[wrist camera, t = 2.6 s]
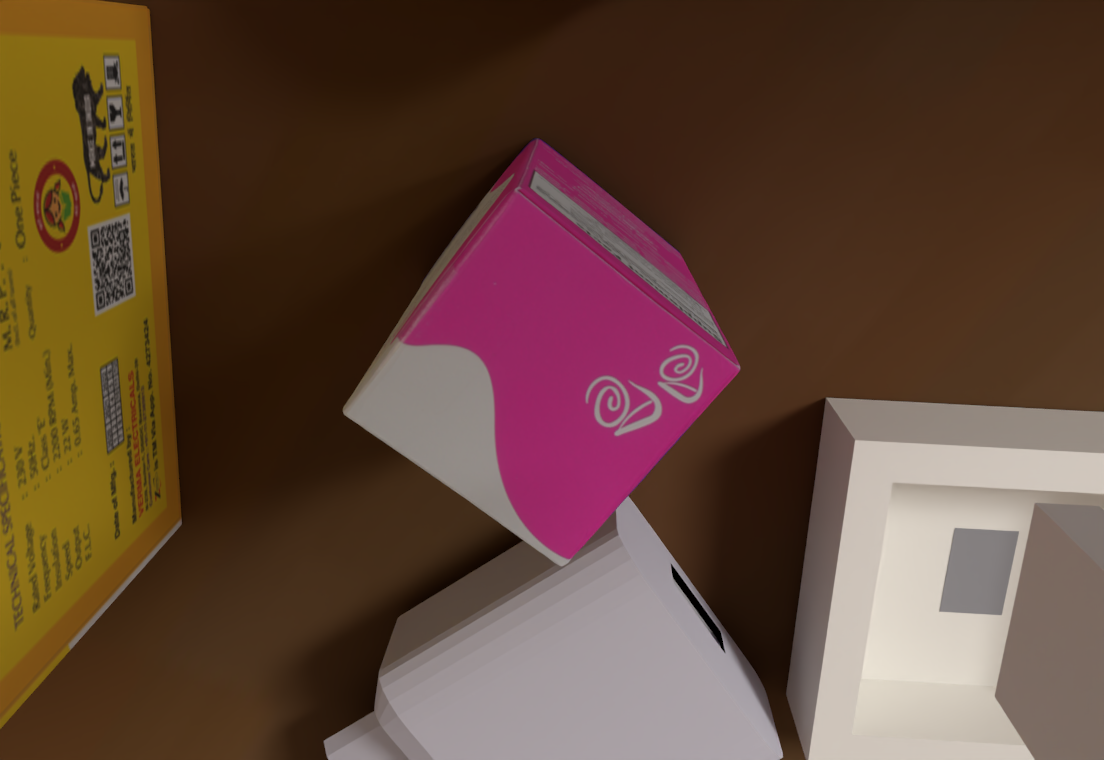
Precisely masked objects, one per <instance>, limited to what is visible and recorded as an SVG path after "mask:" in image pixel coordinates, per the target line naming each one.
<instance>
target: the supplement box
mask: <svg viewBox="0 0 1104 760" xmlns="http://www.w3.org/2000/svg"><path fill="white" fill-rule="evenodd" d="M739 371H740V365H739V363H738V361H737V359H736V357H735V355H734V353H733V351H732V349H731V347H730V345H729V343H728V341H727V340H726V338H725V336H724V334H723V332H722V331H721V329H720V327H719V325H718V323H717V321H716V319H715V317H714V315H713V314H712V312H711V310H710V308H709V306H708V304H707V303H706V301H705V299H704V298H703V296H702V294H701V292H700V290H699V288H698V286H697V284H696V282H695V280H694V278H693V276H692V275H691V273H690V271H689V269H688V267H687V265H686V263H685V262H684V260H683V258H682V256H681V254H680V252H679V251H677V250H676V249H675V248H674V247H673V246H672V245H670V244H669V243H668V242H667V241H665V240H664V239H663V238H662V237H661V236H659V235H658V234H657V233H656V232H655V231H653V230H652V229H651V228H650V227H648V226H647V225H646V224H645V223H644V222H642V221H641V220H640V219H639V218H638V217H636V216H635V215H634V214H633V213H631V212H630V211H629V210H628V209H627V208H625V207H624V206H623V205H622V204H621V203H619V202H618V201H617V200H616V199H615V198H613V197H612V196H611V195H610V194H608V193H607V192H606V191H605V190H604V189H602V188H601V187H600V186H599V185H598V184H596V183H595V182H594V181H593V180H591V179H590V178H589V177H588V176H587V175H585V174H584V173H583V172H582V171H580V170H579V169H578V168H577V167H575V166H574V165H573V164H572V163H571V162H569V161H568V160H567V159H566V158H564V157H563V156H562V155H561V154H559V153H558V152H557V151H556V150H554V149H553V148H552V147H550V146H549V145H548V144H547V143H545V142H544V141H543V140H542V139H539V138H534V139H532V140H531V141H530V142H529V143H528V144H527V145H526V146H525V147H524V148H523V149H522V151H521V152H520V153H519V154H518V155H517V157H516V158H515V159H514V160H513V162H512V163H511V164H510V165H509V167H508V168H507V169H506V170H505V172H504V173H503V174H502V175H501V177H500V178H499V179H498V180H497V182H496V183H495V184H494V185H493V187H492V188H491V189H490V191H489V192H488V193H487V194H486V196H485V197H484V198H483V200H482V201H481V202H480V203H479V205H478V206H477V207H476V209H475V210H474V211H473V212H472V214H471V215H470V216H469V217H468V219H467V220H466V221H465V223H464V224H463V226H462V227H461V228H460V230H459V231H458V232H457V234H456V235H455V236H454V237H453V239H452V240H451V242H450V243H449V245H448V246H447V247H446V249H445V250H444V251H443V253H442V254H441V256H440V257H439V258H438V260H437V261H436V263H435V264H434V265H433V267H432V268H431V270H430V271H429V273H428V274H427V275H426V277H425V278H424V280H423V281H422V285H421V287H420V288H419V290H418V292H417V293H416V295H415V296H414V298H413V299H412V301H411V303H410V304H409V306H408V308H407V309H406V311H405V312H404V314H403V315H402V317H401V319H400V320H399V322H398V323H397V325H396V327H395V328H394V330H393V331H392V333H391V334H390V336H389V337H388V339H387V341H386V342H385V344H384V345H383V347H382V348H381V350H380V351H379V353H378V355H377V356H376V358H375V359H374V361H373V362H372V364H371V366H370V367H369V369H368V370H367V372H366V373H365V375H364V377H363V378H362V380H361V381H360V383H359V384H358V386H357V388H356V389H355V391H354V392H353V394H352V395H351V397H350V398H349V400H348V401H347V403H346V404H345V406H344V407H343V414H344V415H345V416H347V417H348V418H349V419H351V420H352V421H354V422H356V423H357V424H358V425H360V426H361V427H363V428H364V429H365V430H367V431H368V432H370V433H371V434H373V435H374V436H376V437H377V438H379V439H380V440H381V441H383V442H384V443H386V444H387V445H389V446H390V447H392V448H393V449H394V450H396V451H397V452H399V453H400V454H402V455H403V456H405V457H406V458H408V459H409V460H410V461H412V462H413V463H415V464H416V465H418V466H419V467H421V468H422V469H423V470H425V471H426V472H428V473H429V474H431V475H432V476H433V477H435V478H436V479H438V480H439V481H441V482H442V483H443V484H445V485H446V486H448V487H449V488H451V489H452V490H454V491H455V492H457V493H458V494H460V495H461V496H462V497H464V498H465V499H467V500H468V501H470V502H471V503H472V504H474V505H475V506H476V507H478V508H479V509H481V510H482V511H483V512H485V513H486V514H488V515H489V516H490V517H492V518H493V519H495V520H496V521H497V522H499V523H500V524H501V525H503V526H504V527H506V528H507V529H508V530H510V531H511V532H512V533H514V534H515V535H517V536H518V537H519V538H521V539H522V540H524V541H525V542H526V543H528V544H529V545H531V546H532V547H533V548H535V549H536V550H537V551H539V552H540V553H542V554H544V555H545V556H546V557H548V558H549V559H550V560H551V561H553V562H554V563H555V564H557V565H559V566H564V565H566V564H567V563H569V561H570V560H571V559H572V558H573V556H574V555H575V554H576V553H577V552H578V551H579V550H580V549H581V548H582V547H583V546H584V545H585V544H586V542H587V541H588V540H589V539H590V538H591V537H592V536H593V535H594V534H595V532H596V531H597V530H598V529H599V528H600V527H601V526H602V525H603V523H604V522H605V521H606V520H607V519H608V518H609V517H610V516H611V514H612V513H613V512H614V511H615V510H616V509H617V508H618V507H619V506H620V504H621V503H622V502H623V501H624V500H625V499H626V498H627V497H628V496H629V494H630V493H631V492H632V491H633V490H634V489H635V488H636V487H637V486H638V484H639V483H640V482H641V481H642V480H643V479H644V478H645V477H646V475H647V474H648V473H649V472H650V471H651V470H652V468H653V467H654V466H655V465H656V464H657V463H658V462H659V461H660V460H661V458H662V457H663V456H664V455H665V454H666V453H667V452H668V451H669V450H670V448H671V447H672V446H673V445H674V444H675V443H676V442H677V441H678V440H679V439H680V437H681V436H682V435H683V434H684V433H685V432H686V431H687V429H688V428H689V427H690V426H691V425H692V424H693V422H694V421H695V420H696V419H697V418H698V417H699V416H700V415H701V414H702V413H703V411H704V410H705V409H706V408H707V407H708V406H709V404H710V403H711V402H712V401H713V400H714V399H715V398H716V397H717V396H718V394H719V393H720V392H721V391H722V390H723V389H724V388H725V387H726V386H727V385H728V384H729V382H730V381H731V380H732V379H733V378H734V377H735V376H736V375H737V374H738V372H739Z"/></svg>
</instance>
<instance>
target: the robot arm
mask: <svg viewBox="0 0 1104 760" xmlns="http://www.w3.org/2000/svg"><path fill="white" fill-rule="evenodd" d="M995 698H996V700H997V701H998V703H999V704H1000V706H1001V707H1002V709H1003V711H1004V712H1005V714H1006V715H1007V717H1008V718H1009V720H1010V722H1011V723H1012V725H1013V726H1014V728H1015V729H1016V731H1017V732H1018V734H1019V736H1020V737H1021V739H1022V740H1023V742H1024V743H1025V745H1026V747H1027V748H1028V750H1029V751H1030V753H1031V754H1032V756H1033V758H1034V759H1035V760H1104V510H1103V509H1102V508H1100V507H1099V506H1088V505H1069V504H1049V503H1035V505H1034V510H1033V515H1032V519H1031V524H1030V529H1029V534H1028V539H1027V543H1026V548H1025V553H1024V558H1023V562H1022V567H1021V572H1020V577H1019V582H1018V586H1017V591H1016V596H1015V601H1014V605H1013V610H1012V615H1011V620H1010V625H1009V629H1008V634H1007V639H1006V644H1005V648H1004V653H1003V658H1002V663H1001V668H1000V672H999V677H998V682H997V687H996V692H995Z"/></svg>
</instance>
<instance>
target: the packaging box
mask: <svg viewBox="0 0 1104 760" xmlns="http://www.w3.org/2000/svg"><path fill="white" fill-rule="evenodd" d="M181 525H182V517H181V501H180V486H179V470H178V454H177V438H176V422H175V406H174V390H173V374H172V358H171V342H170V326H169V310H168V295H167V279H166V263H165V247H164V231H163V215H162V199H161V183H160V167H159V151H158V135H157V120H156V104H155V88H154V72H153V56H152V40H151V24H150V9H147V6H141V5H133V4H124V3H116V2H108V1H99V0H0V729H1V728H2V726H3V725H4V724H5V723H6V722H7V721H8V720H9V719H10V717H11V716H12V715H13V714H14V713H15V712H16V711H17V710H18V708H19V707H20V706H21V705H22V704H23V703H24V702H25V701H26V699H27V698H28V697H29V696H30V695H31V694H32V693H33V692H34V690H35V689H36V688H37V687H38V686H39V685H40V684H41V683H42V681H43V680H44V679H45V678H46V677H47V676H48V675H49V674H50V672H51V671H52V670H53V669H54V668H55V667H56V666H57V665H58V663H59V662H60V661H61V660H62V659H63V658H64V657H65V655H66V654H67V653H68V652H69V651H70V650H71V649H72V648H73V646H74V645H75V644H76V643H77V642H78V641H79V640H80V639H81V637H82V636H83V635H84V634H85V633H86V632H87V631H88V630H89V628H90V627H91V626H92V625H93V624H94V623H95V622H96V621H97V619H98V618H99V617H100V616H101V615H102V614H103V613H104V612H105V610H106V609H107V608H108V607H109V606H110V605H111V604H112V603H113V601H114V600H115V599H116V598H117V597H118V596H119V595H120V594H121V592H122V591H123V590H124V589H125V588H126V587H127V586H128V585H129V583H130V582H131V581H132V580H133V579H134V578H135V577H136V576H137V574H138V573H139V572H140V571H141V570H142V569H143V568H144V567H145V565H146V564H147V563H148V562H149V561H150V560H151V559H152V557H153V556H154V555H155V554H156V553H157V552H158V551H159V550H160V548H161V547H162V546H163V545H164V544H165V543H166V542H167V541H168V539H169V538H170V537H171V536H172V535H173V534H174V533H175V532H176V530H177V529H178V528H179V527H180V526H181Z"/></svg>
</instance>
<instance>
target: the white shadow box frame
mask: <svg viewBox="0 0 1104 760" xmlns="http://www.w3.org/2000/svg"><path fill="white" fill-rule="evenodd" d="M1035 503H1049V504H1069V505H1088V506H1099V507H1100V508H1102V509H1103V510H1104V412H1093V411H1073V410H1054V409H1035V408H1016V407H996V406H977V405H958V404H938V403H919V402H900V401H881V400H861V399H842V398H826V402H825V409H824V416H823V424H822V431H821V439H820V446H819V454H818V461H817V468H816V476H815V483H814V491H813V498H812V505H811V513H810V520H809V528H808V535H807V543H806V550H805V557H804V565H803V572H802V580H801V587H800V594H799V602H798V609H797V617H796V624H795V632H794V639H793V646H792V654H791V661H790V669H789V676H788V684H787V691H786V696H787V699H788V702H789V705H790V709H791V712H792V715H793V719H794V722H795V725H796V729H797V732H798V735H799V738H800V742H801V745H802V748H803V752H804V755H805V758H806V760H1035V759H1034V758H1033V756H1032V754H1031V753H1030V751H1029V750H1028V748H1027V747H1026V745H1025V743H1024V742H1023V740H1022V739H1021V737H1020V736H1019V734H1018V732H1017V731H1016V729H1015V728H1014V726H1013V725H1012V723H1011V722H1010V720H1009V718H1008V717H1007V715H1006V714H1005V712H1004V711H1003V709H1002V707H1001V706H1000V704H999V703H998V701H997V700H996V698H995V692H996V687H997V682H998V677H999V672H1000V668H1001V663H1002V658H1003V653H1004V648H1005V644H1006V639H1007V634H1008V629H1009V625H1010V620H1011V615H1012V610H1013V605H1014V601H1015V596H1016V591H1017V586H1018V582H1019V577H1020V572H1021V567H1022V562H1023V558H1024V553H1025V548H1026V543H1027V539H1028V534H1029V529H1030V524H1031V519H1032V515H1033V510H1034V505H1035Z"/></svg>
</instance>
